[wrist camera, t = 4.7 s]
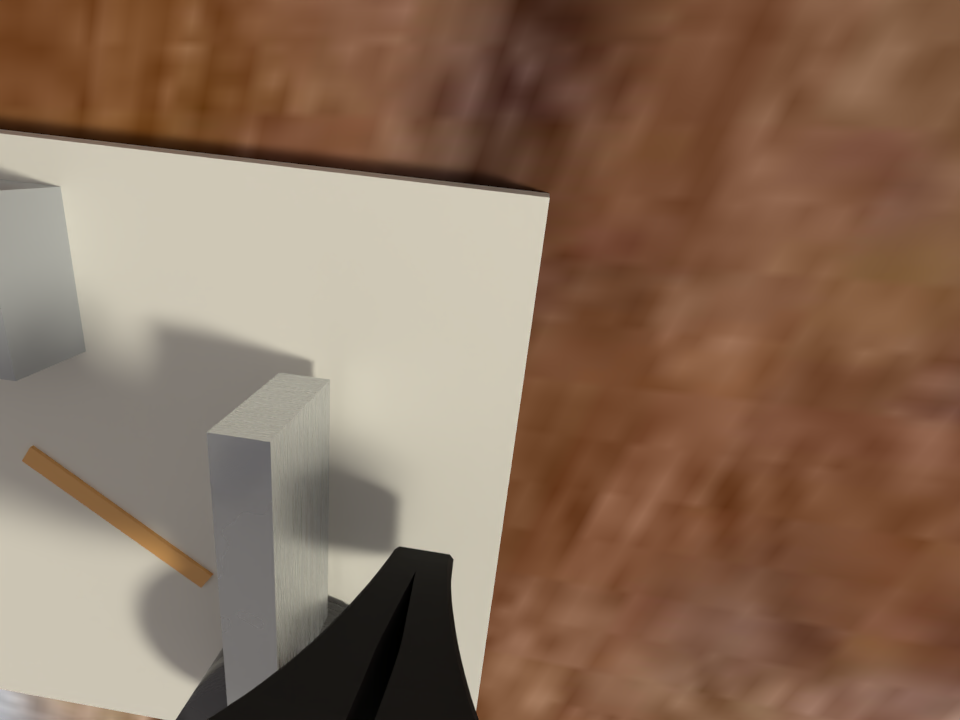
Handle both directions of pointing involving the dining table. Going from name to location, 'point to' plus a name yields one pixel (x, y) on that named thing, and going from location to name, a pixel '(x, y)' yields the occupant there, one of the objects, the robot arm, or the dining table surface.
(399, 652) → the robot arm
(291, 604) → the knob
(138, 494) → the leveling plate
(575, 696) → the dining table surface
